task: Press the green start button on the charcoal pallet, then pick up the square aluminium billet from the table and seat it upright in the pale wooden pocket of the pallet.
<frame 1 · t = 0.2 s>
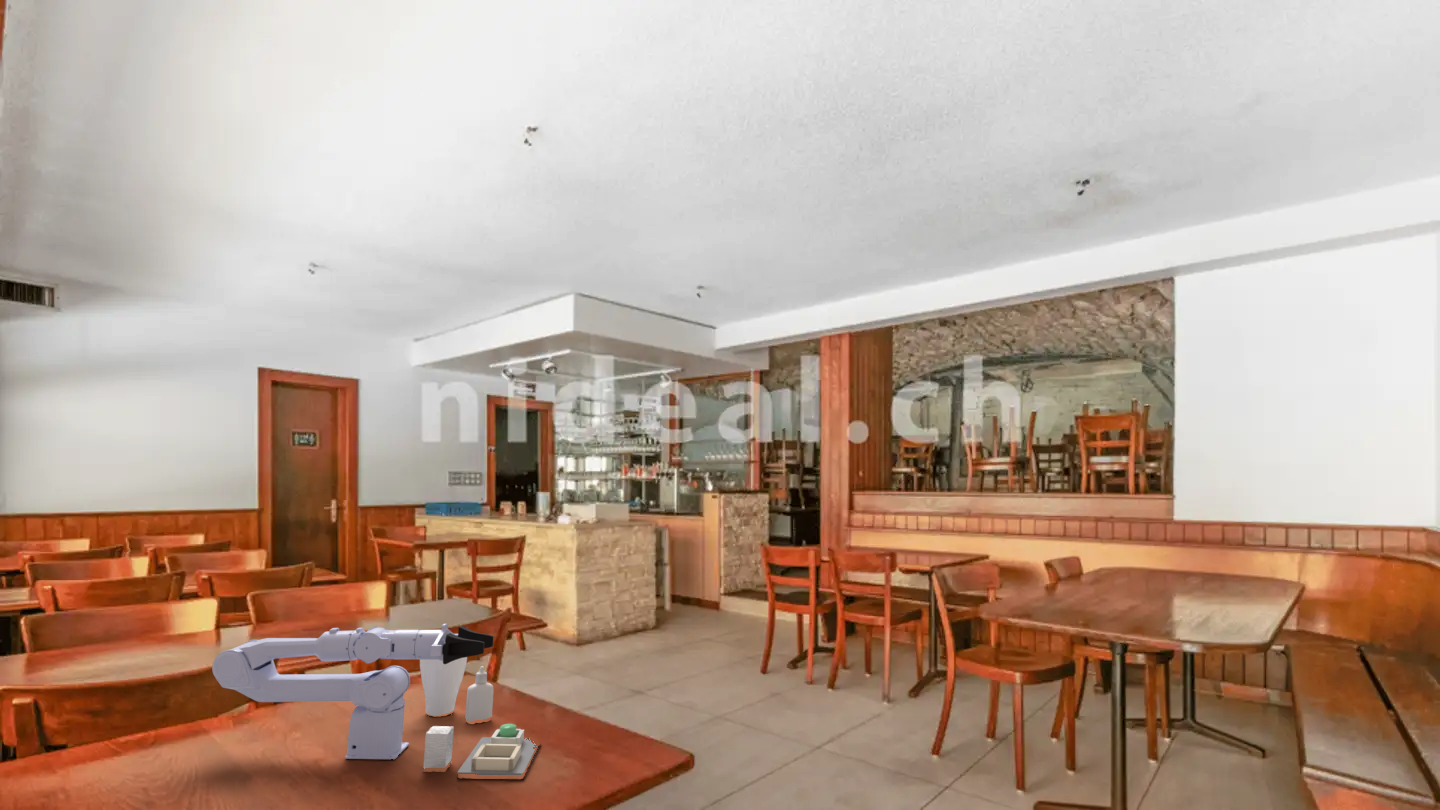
hand: (488, 644, 151), 21 cm above the table, tool horizontal, fingers open, 7 cm apart
start button: (507, 732, 151), point 4 cm above the table, slide at 0.0 cm
eye dropper bottle: (478, 722, 167), on the table
cup: (439, 714, 172), on the table
pallet: (501, 760, 146), on the table
billet: (437, 768, 141), on the table
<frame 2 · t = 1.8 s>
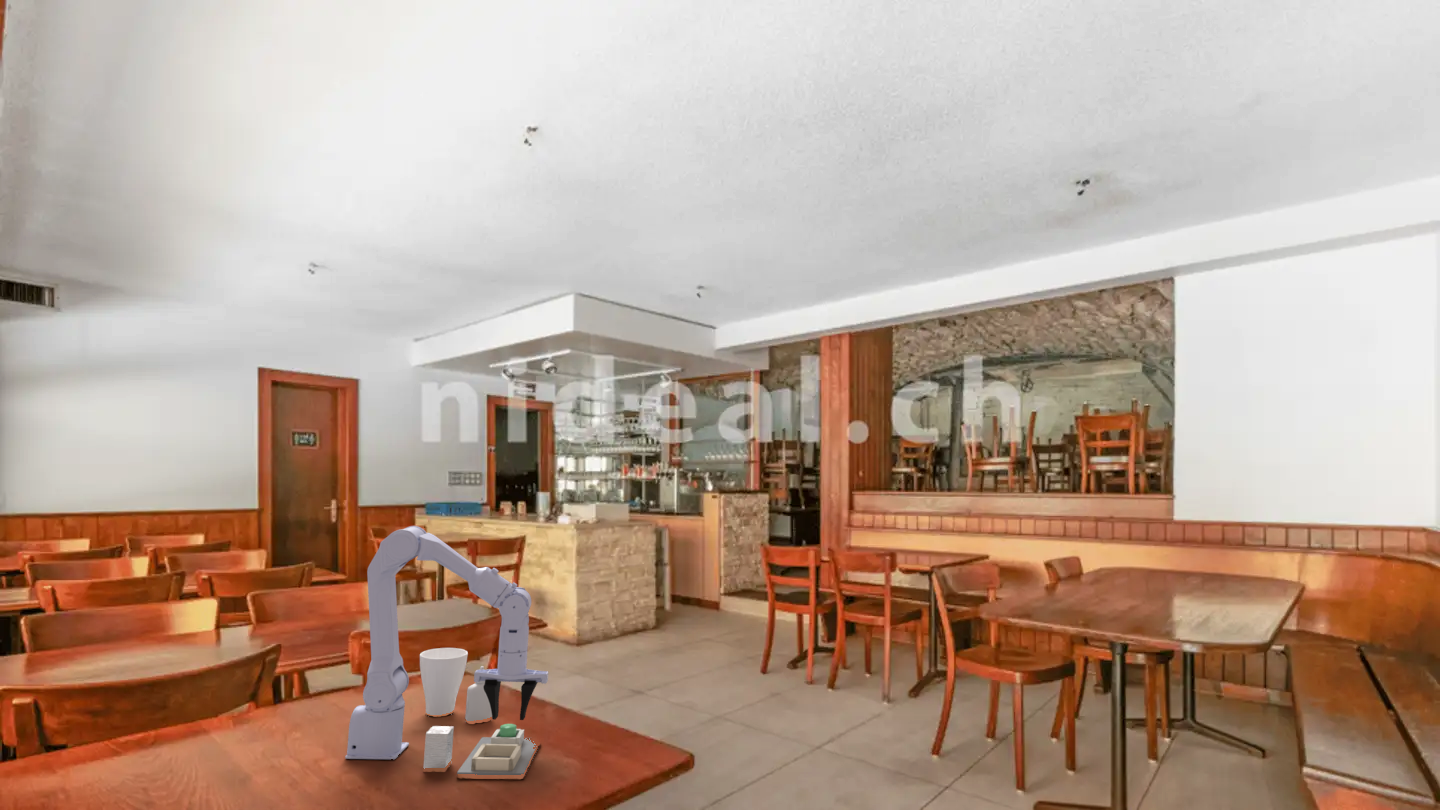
hand: (508, 718, 152), 6 cm above the table, tool pointing down, fingers open, 5 cm apart
nothing on the table moved.
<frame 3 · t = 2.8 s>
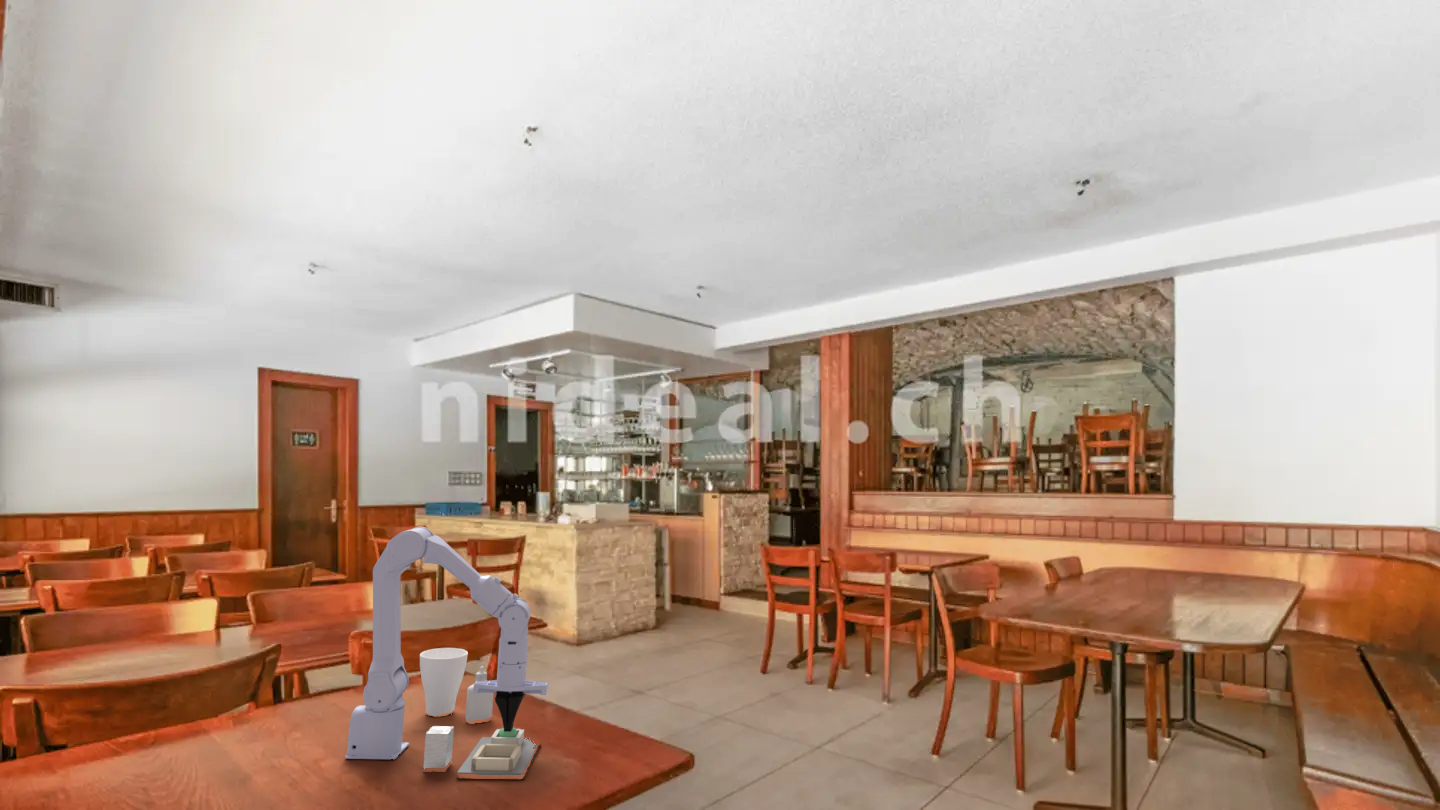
hand: (508, 729, 151), 4 cm above the table, tool pointing down, fingers closed, pressing on start button
start button: (507, 735, 151), point 3 cm above the table, slide at 0.7 cm, touching gripper
everything else where it was.
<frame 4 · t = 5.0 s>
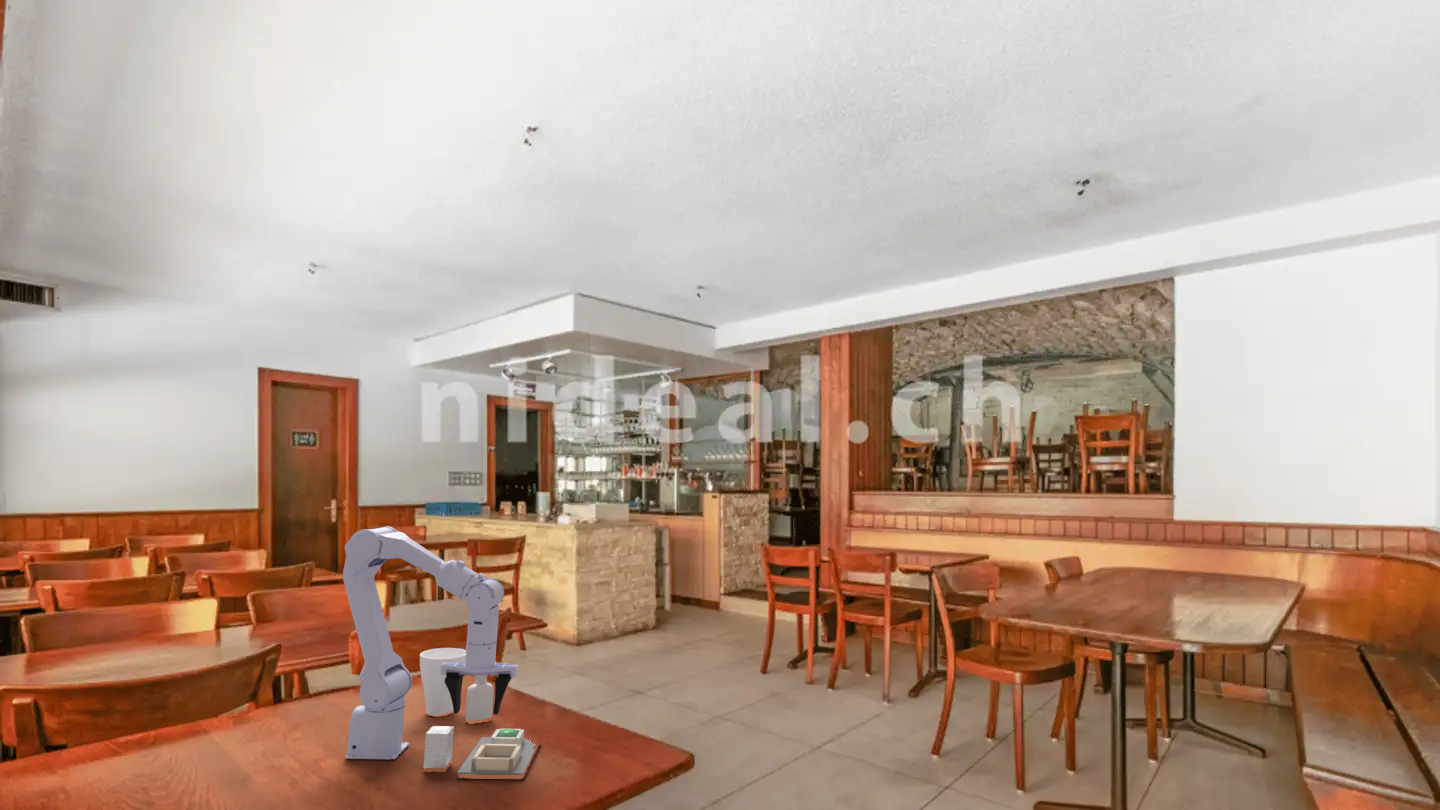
hand: (476, 712, 147), 9 cm above the table, tool pointing down, fingers open, 7 cm apart
start button: (507, 737, 151), point 3 cm above the table, slide at 0.9 cm
everything else where it was.
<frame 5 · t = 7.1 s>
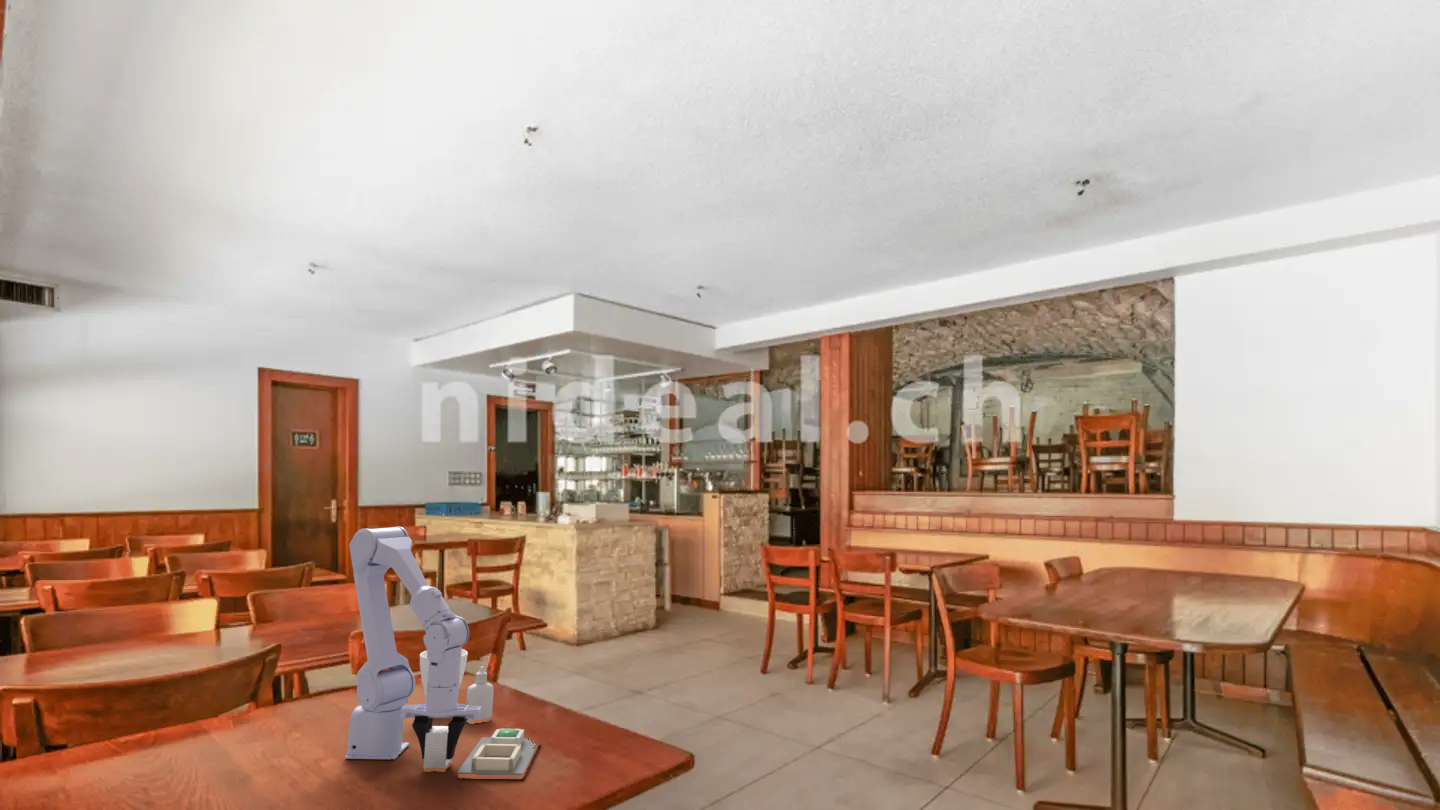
hand: (438, 757, 142), 2 cm above the table, tool pointing down, fingers closed on billet, 4 cm apart
billet: (437, 767, 141), on the table, touching gripper
everything else where it was.
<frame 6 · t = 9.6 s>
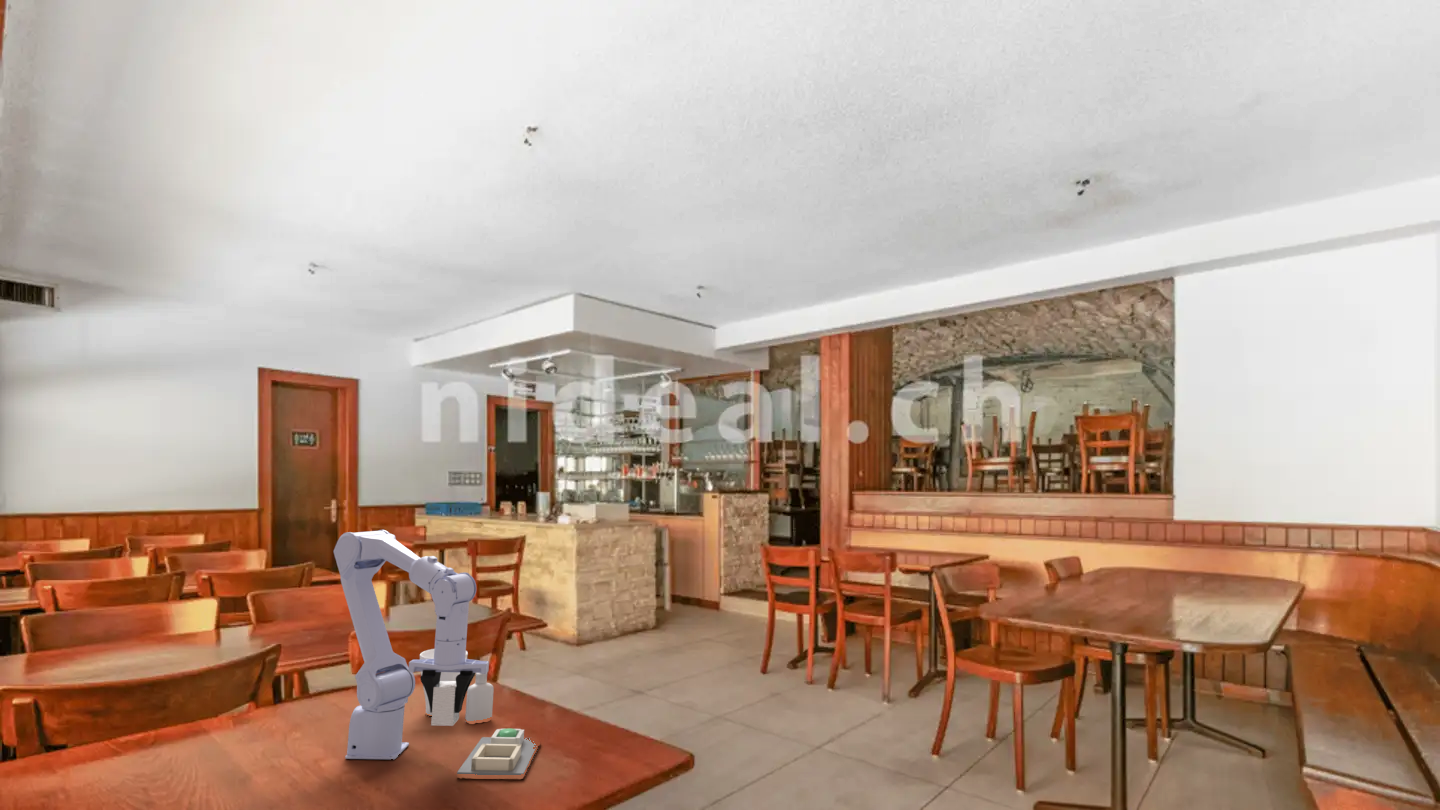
hand: (446, 711, 142), 10 cm above the table, tool pointing down, fingers closed on billet, 4 cm apart
billet: (445, 722, 142), point 8 cm above the table, touching gripper
everything else where it was.
when the fingers open (4 cm above the table, at t = 12.4 s): billet stays where it is, resting on pallet.
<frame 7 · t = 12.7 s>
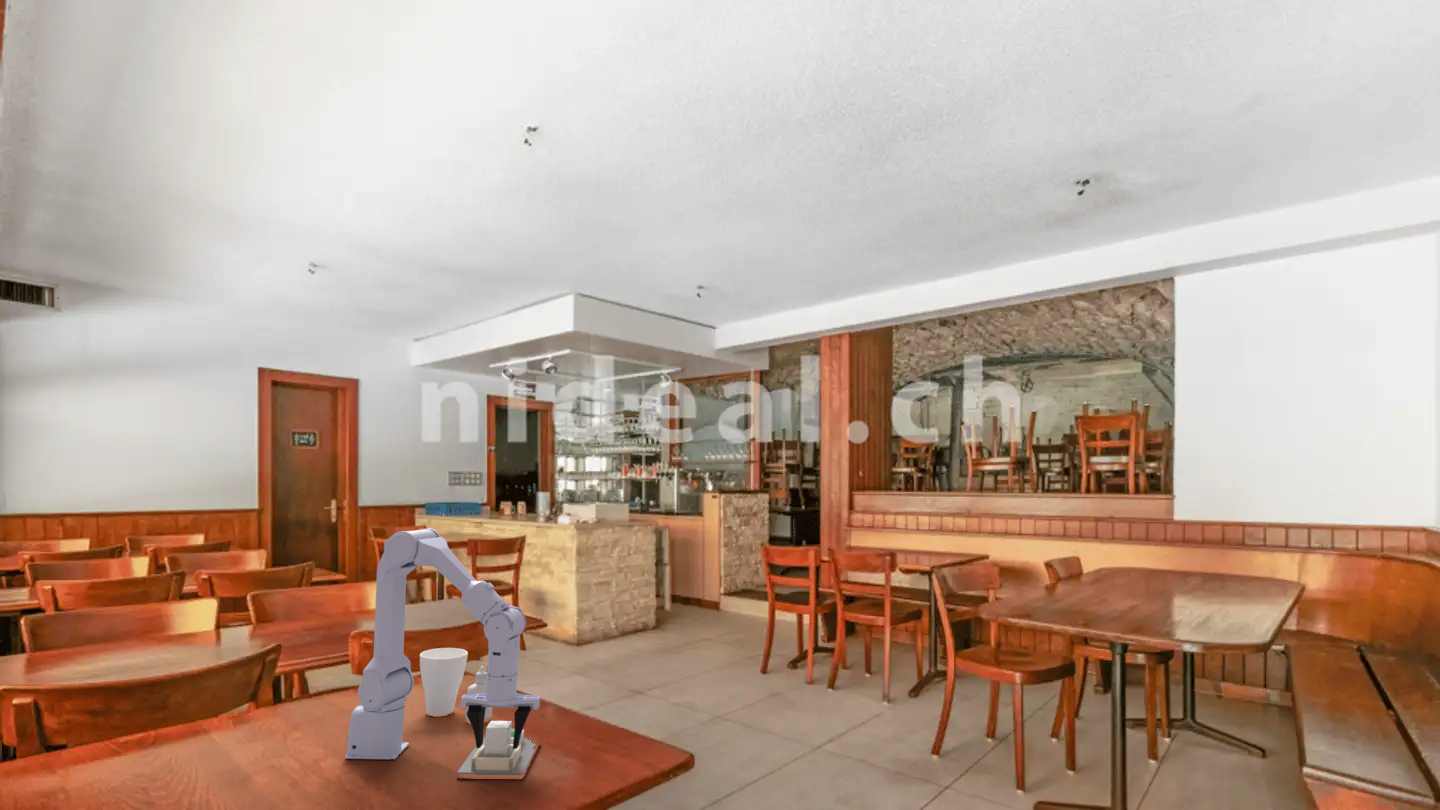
hand: (497, 746, 142), 4 cm above the table, tool pointing down, fingers open, 6 cm apart
billet: (496, 762, 142), point 1 cm above the table, touching pallet
everything else where it was.
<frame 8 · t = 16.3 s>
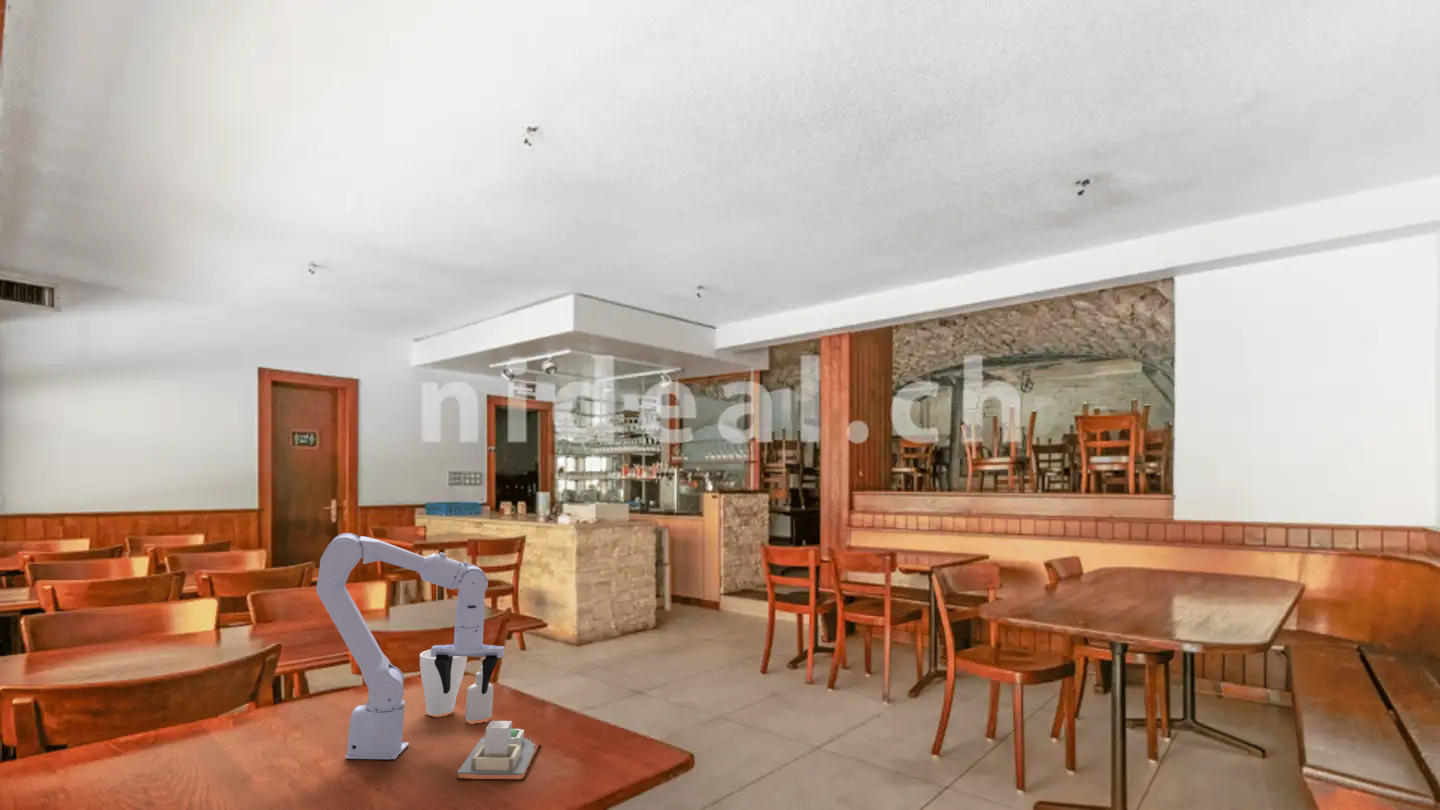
hand: (465, 692, 154), 10 cm above the table, tool pointing down, fingers open, 7 cm apart
nothing on the table moved.
at the end: start button slide at 0.9 cm; billet 0.1 cm from the target spot on the pallet, point 1.2 cm above the pallet's base; billet tilted 0° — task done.
